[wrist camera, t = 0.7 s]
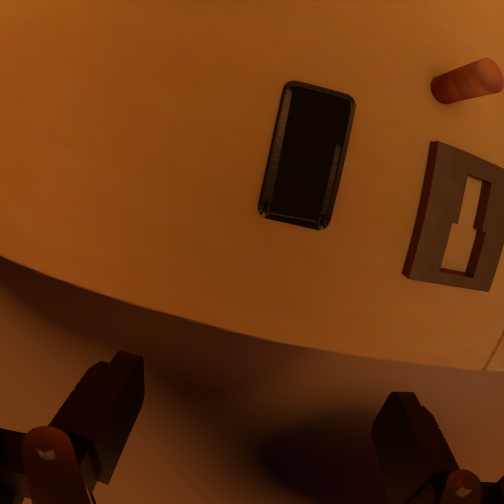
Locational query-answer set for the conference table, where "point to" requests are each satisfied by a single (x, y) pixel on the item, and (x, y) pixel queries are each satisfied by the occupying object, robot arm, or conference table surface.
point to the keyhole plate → (456, 219)
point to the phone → (306, 155)
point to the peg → (468, 82)
